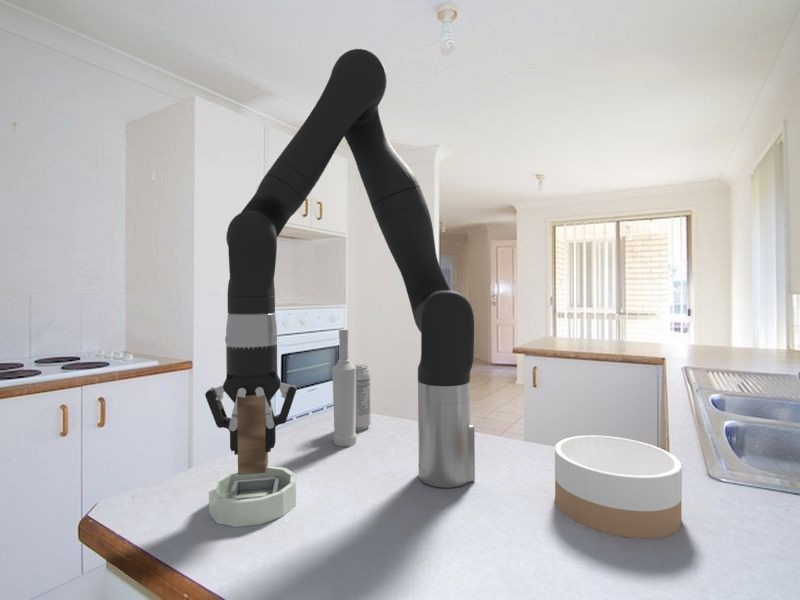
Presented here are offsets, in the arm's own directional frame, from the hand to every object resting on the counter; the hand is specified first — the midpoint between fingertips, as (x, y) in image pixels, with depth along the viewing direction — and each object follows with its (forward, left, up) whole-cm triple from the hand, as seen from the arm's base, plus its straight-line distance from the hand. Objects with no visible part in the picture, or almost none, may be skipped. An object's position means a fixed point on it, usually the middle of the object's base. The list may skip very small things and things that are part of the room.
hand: (253, 451), depth 68 cm
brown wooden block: (0, 0, -3) cm, 3 cm away
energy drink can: (-20, -35, -9) cm, 41 cm away
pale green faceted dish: (0, 0, -8) cm, 8 cm away
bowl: (-54, +13, -9) cm, 56 cm away
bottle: (-16, -25, -9) cm, 31 cm away
